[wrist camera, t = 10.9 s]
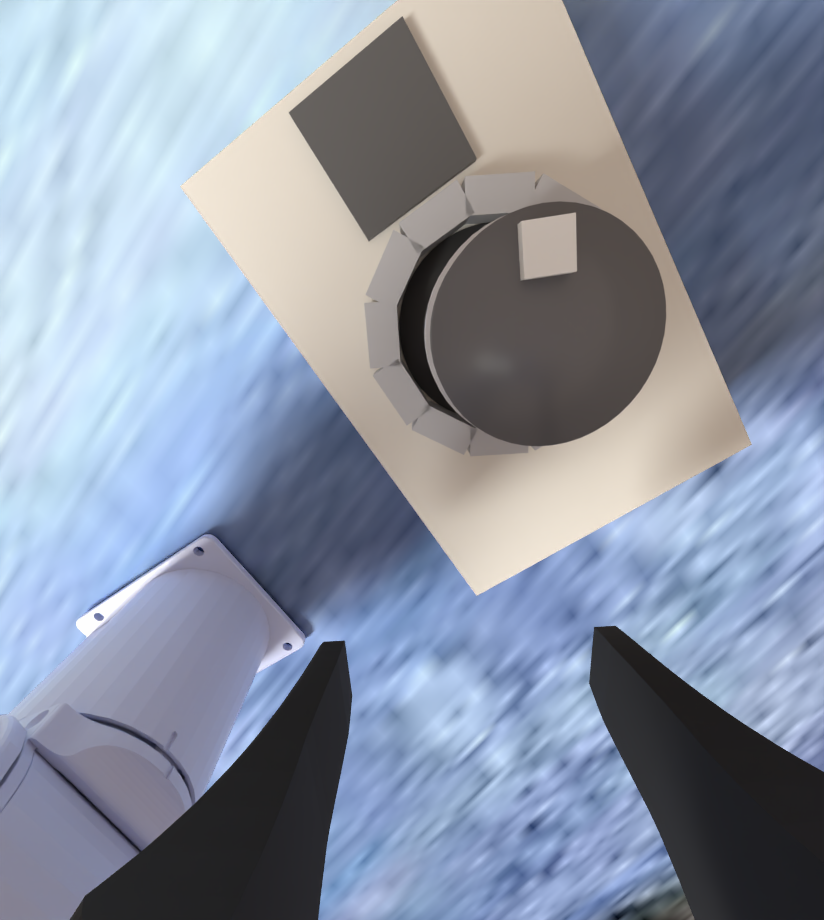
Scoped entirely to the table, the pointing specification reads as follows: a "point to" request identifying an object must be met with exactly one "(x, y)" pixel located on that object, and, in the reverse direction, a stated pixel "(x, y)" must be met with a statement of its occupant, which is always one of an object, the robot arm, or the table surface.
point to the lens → (546, 323)
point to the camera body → (434, 243)
